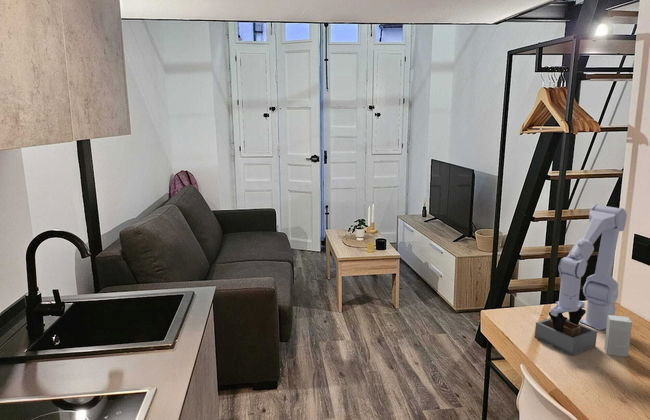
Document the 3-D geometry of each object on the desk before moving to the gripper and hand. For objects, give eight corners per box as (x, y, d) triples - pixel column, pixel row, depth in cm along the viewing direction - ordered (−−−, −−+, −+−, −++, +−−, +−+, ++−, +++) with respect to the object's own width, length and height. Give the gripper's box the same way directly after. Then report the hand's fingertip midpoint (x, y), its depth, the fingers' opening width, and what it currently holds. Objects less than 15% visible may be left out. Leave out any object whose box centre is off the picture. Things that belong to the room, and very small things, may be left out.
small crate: (558, 332, 163) (560, 317, 162) (580, 342, 156) (581, 326, 155) (548, 335, 161) (550, 320, 160) (570, 345, 154) (571, 330, 153)
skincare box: (624, 351, 152) (629, 316, 150) (628, 357, 148) (632, 322, 146) (603, 348, 154) (607, 314, 152) (606, 354, 150) (610, 319, 148)
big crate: (557, 329, 167) (559, 315, 166) (595, 346, 155) (597, 331, 154) (534, 337, 162) (535, 322, 161) (571, 355, 150) (573, 339, 149)
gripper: (572, 285, 162) (568, 321, 165) (544, 293, 155) (540, 331, 158) (592, 292, 156) (587, 329, 158) (563, 300, 149) (559, 339, 152)
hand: (565, 331), depth 158 cm, fingers open, 7 cm apart
